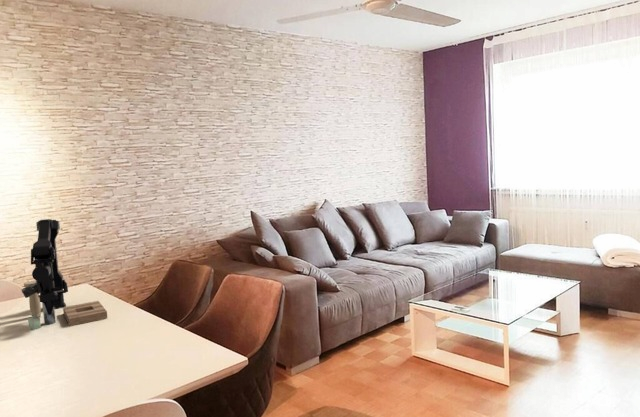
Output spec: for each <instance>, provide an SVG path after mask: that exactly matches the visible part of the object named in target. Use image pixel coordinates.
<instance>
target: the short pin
mask: <svg viewBox="0 0 640 417" xmlns="http://www.w3.org/2000/svg"><path fill="white" fill-rule="evenodd" d="M27 322H28V330H29V331H36V330H39V329H41V328H42V324H41V316H39V317H32V316H31V317H29V318H28V319H27ZM35 329H36V330H35Z"/></svg>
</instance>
